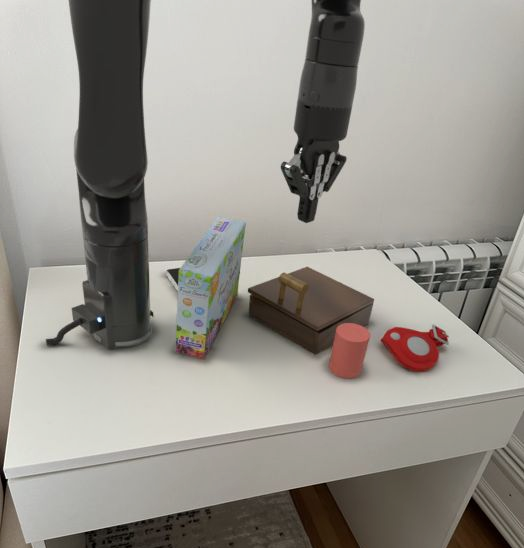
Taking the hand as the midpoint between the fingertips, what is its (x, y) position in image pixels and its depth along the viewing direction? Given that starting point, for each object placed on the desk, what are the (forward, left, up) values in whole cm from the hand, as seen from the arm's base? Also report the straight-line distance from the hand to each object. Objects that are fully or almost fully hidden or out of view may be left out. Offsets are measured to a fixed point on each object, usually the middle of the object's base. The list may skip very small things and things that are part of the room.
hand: (305, 220), depth 82 cm
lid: (+4, 0, -15) cm, 16 cm away
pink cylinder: (-2, -14, -20) cm, 24 cm away
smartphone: (-4, +20, -20) cm, 28 cm away
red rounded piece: (+11, -19, -20) cm, 30 cm away
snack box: (-10, +10, -20) cm, 24 cm away
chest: (+5, 0, -20) cm, 20 cm away
